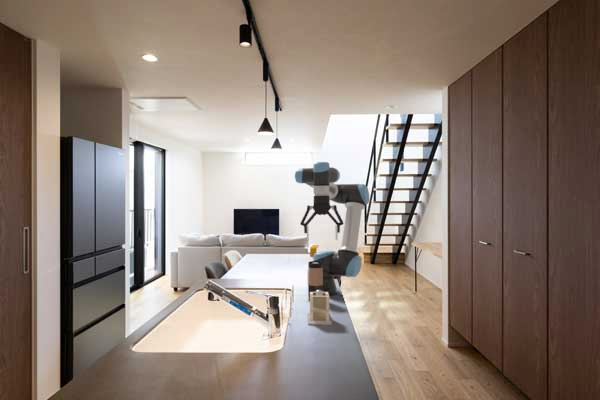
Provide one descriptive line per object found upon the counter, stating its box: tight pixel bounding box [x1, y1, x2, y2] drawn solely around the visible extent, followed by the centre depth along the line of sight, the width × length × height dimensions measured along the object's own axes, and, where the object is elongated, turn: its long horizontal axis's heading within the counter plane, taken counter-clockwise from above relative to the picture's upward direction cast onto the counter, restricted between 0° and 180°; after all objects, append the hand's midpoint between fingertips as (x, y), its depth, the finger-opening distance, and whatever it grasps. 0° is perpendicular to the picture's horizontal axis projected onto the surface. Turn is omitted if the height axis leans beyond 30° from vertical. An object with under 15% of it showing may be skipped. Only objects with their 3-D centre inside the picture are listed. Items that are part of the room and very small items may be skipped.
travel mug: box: [307, 260, 323, 303], centre depth 190 cm, size 8×8×20 cm
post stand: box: [307, 290, 333, 326], centre depth 158 cm, size 10×10×13 cm
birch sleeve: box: [309, 292, 330, 320], centre depth 158 cm, size 8×8×10 cm
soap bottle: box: [309, 244, 319, 258], centre depth 225 cm, size 9×9×25 cm
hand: (322, 240), depth 173 cm, fingers open, 13 cm apart
